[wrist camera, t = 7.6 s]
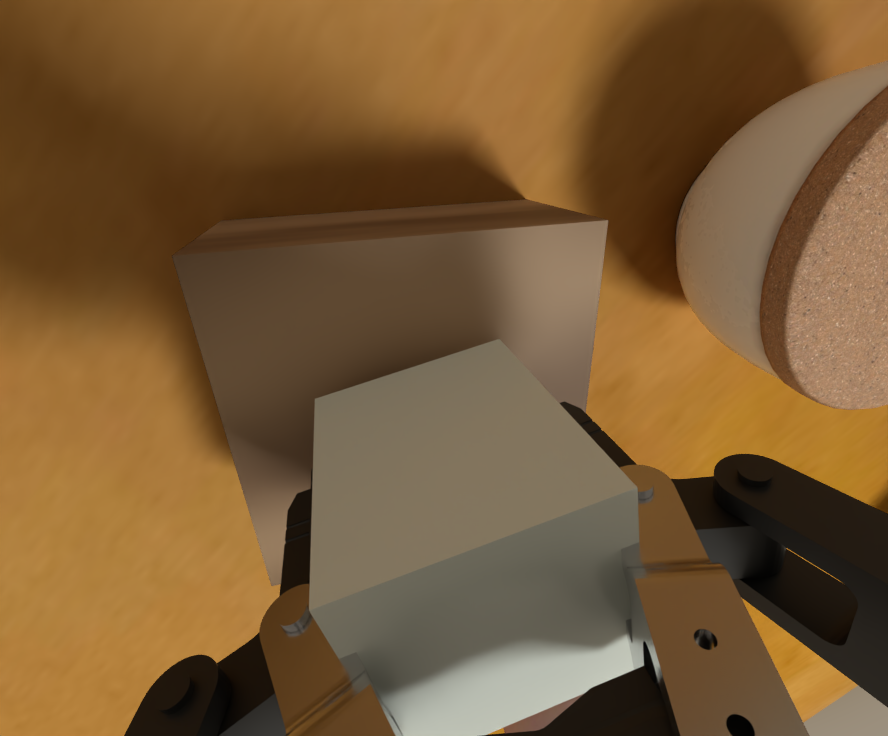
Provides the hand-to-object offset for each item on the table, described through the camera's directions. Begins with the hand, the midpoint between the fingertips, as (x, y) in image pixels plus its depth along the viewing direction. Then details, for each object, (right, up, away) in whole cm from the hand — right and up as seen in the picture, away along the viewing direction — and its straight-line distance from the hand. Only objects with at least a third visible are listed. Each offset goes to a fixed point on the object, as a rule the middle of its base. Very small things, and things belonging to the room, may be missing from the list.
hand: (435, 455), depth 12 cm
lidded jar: (+13, +9, +8) cm, 18 cm away
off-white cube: (0, 0, +1) cm, 1 cm away
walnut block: (-2, +3, +7) cm, 8 cm away
